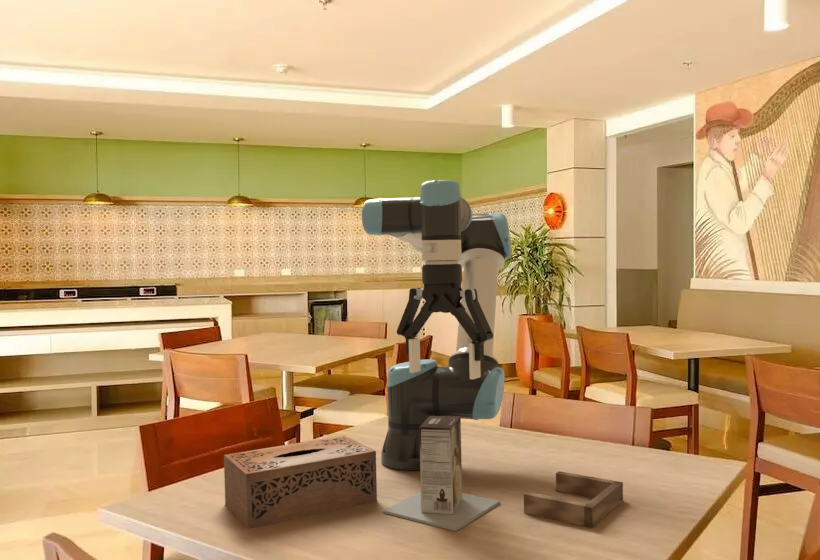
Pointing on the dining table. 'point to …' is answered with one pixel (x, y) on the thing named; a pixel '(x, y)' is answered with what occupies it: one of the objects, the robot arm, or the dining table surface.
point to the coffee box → (440, 464)
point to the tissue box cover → (299, 479)
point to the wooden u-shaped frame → (575, 512)
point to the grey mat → (463, 515)
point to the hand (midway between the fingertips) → (444, 375)
